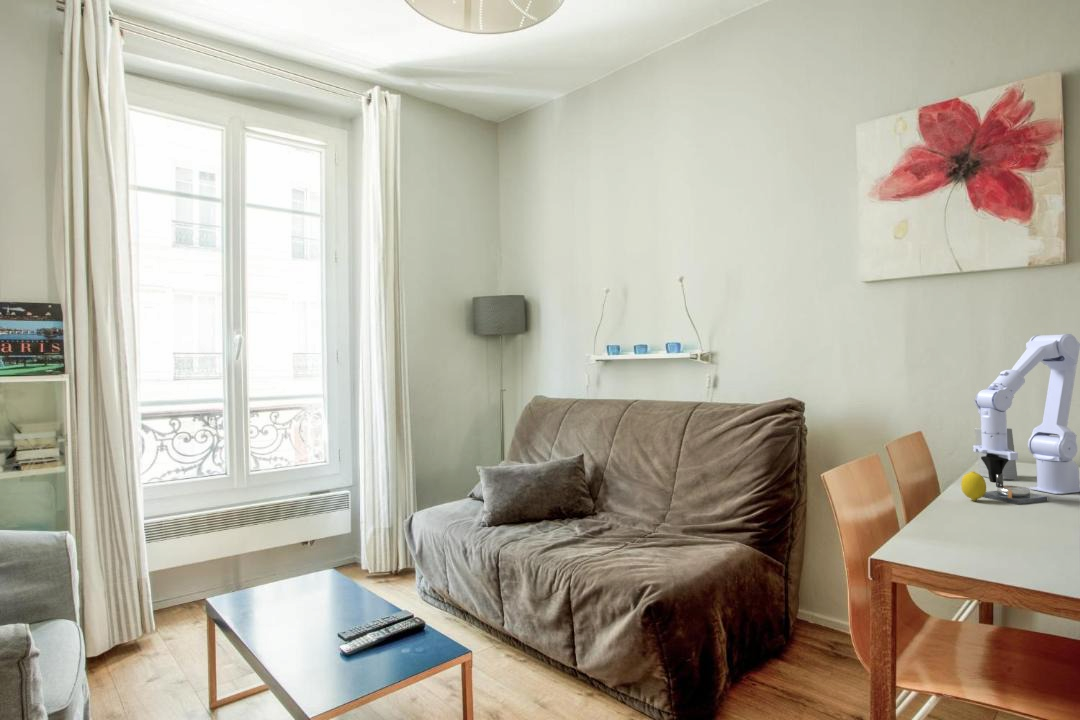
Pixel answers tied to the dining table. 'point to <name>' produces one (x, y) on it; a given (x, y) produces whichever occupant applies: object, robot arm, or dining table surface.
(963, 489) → the lemon
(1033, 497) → the dial plate
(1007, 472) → the skincare box
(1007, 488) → the dial
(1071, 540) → the dining table surface
